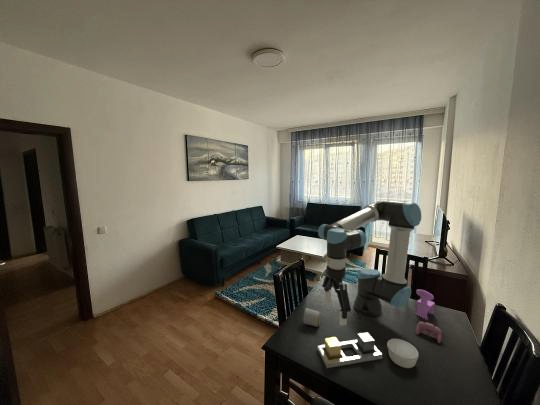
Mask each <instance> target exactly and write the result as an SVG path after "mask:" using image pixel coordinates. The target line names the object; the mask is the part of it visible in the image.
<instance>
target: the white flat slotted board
mask: <svg viewBox="0 0 540 405" xmlns="http://www.w3.org/2000/svg"><path fill="white" fill-rule="evenodd" d="M339 343H340V344H341V358H339V359H333V360H328V358H327V356H326V354H325V344H321V345H319V344H318V345H317V351H318V353H319V356H320V357H321V359H322V361H323V363H324V364H325V366H326V369H329V368H336V367H340V366H345V365H346V366H347V365H348V366H349V365H352V364H358V363H365V362H369V361H377V360H382V359H383V353H382V352H381V351H380V350H379V349H378V348H377V346H376V345H374V353H369V354H362V352H361V351H360V350H359V349H358V347H357V339H352V340H346V341H339ZM348 348H352V350H353V352H355V354H356V355H353V356H346V355H345V353H344V352H343V350H342V349H348Z"/></svg>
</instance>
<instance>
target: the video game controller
mask: <svg viewBox="0 0 540 405" xmlns="http://www.w3.org/2000/svg"><path fill="white" fill-rule="evenodd" d="M428 330H429V331H430V332H429V335H430V336H429V337H431V338H434V339H435V338H436V341H437V343H438V344H440V343H441V341H442V330H441V329H440V328H439V327H438V326H436V325H434V324H432V323H430V322H427V321H419V322H418V323H417V325H416V327H415V334H416V335H417V336H418V335H420V333H421V332H422V334H423V335H427V334H428Z"/></svg>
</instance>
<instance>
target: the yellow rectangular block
mask: <svg viewBox="0 0 540 405" xmlns="http://www.w3.org/2000/svg"><path fill="white" fill-rule="evenodd" d="M339 342H340V341H339V339H338V338H337V337H336V336H332V337H326V338H324V345H325V351H324V353H325V354H326V356H327V358H328V360H333V359H339V358H341V350H342V349H341V344H340V343H339Z"/></svg>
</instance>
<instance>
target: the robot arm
mask: <svg viewBox="0 0 540 405" xmlns="http://www.w3.org/2000/svg"><path fill="white" fill-rule="evenodd" d="M377 221H383V222H384V221H385V222H388V227H389V228H390V236H389V243H388V251H387V260H386V265H385V273H383V274H382V273H381V272H380V270H378V269H374V268H364V269H360V270H359V271H358V274H357V293H356V297H355V299H354V301H353V307H354V309H355V310H356V311H357V312H358V313H360V314H362V315H364V316H367V317H377V316H378V317H379V316H380V315H382V313H383V306H382V303H381V301H384V302H385V303H387V304H389V305H390V306H393V307H396V308H403V307H404V306H406V305H407V304H408V303H409V300H410V299H411V295H412V289H411V287H410V286H408V281H407V279H406V278H405V274H406V267H407V261H408V260H407V259H408V252H409V244H410V238H411V232H413V231H414V230H415V227H417V226H419V225H420V224H421V221H422V210H421V207H420V206H419V204H417V203H416V202H412V201H408V200H405V201H404V200H392V199H382V200H378V201H375V202H372V203H369V204H367V205H365V206H364V207H363V209H361V210H359V211H357V212H354V213H353V214H350V215H348V216H346V217H344V218H342V219H340V220H337V221H336V222H333V223H331V224H326V223H324V224H323V223H322V224H321V225H320V226H319V227H318V230H317V234H318V237H319V238H320V239H322V240H324V241H326V259H325V262H326V271H325V276H324V278H323V281H322V285H321V287H322V288H323V290H324V306H331V305H332V304H331V303H332V302H331V301H332V288H333V289H334V292H335V293H336V295H337V300H338V302H339V306H340V309H339V326H347V322H348V321H347V320H348V313H350V312H352V309H351V302H350V298H349V294H348V286H347V283H343V280H344V278H345V277H346V266H347V264H346V262H347V261H346V260H347V259H346V258H347V256H346V255H347V251H350V250H354V249H359V248H361V247H364V246H365V245H366V244H367V235H366V233H365V232H364V231H363V230H361V229H359V228H361V227H363V226H365V225H367V224H369V223H374V222H377Z"/></svg>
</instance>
